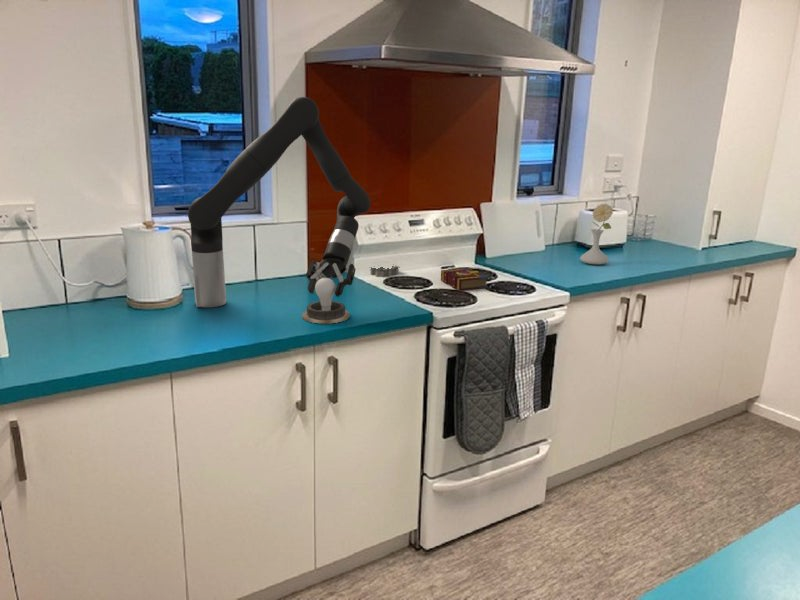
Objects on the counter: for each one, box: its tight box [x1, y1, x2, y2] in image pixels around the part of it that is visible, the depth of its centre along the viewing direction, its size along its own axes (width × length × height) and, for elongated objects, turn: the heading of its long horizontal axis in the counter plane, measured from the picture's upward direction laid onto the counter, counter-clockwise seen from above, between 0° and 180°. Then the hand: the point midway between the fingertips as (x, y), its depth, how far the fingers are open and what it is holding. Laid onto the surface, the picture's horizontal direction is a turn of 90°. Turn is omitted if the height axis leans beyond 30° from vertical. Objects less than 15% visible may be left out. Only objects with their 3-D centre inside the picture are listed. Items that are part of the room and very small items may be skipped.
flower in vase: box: [579, 203, 614, 265], centre depth 259 cm, size 13×11×25 cm
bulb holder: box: [302, 300, 351, 325], centre depth 190 cm, size 14×14×3 cm
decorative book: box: [440, 267, 489, 291], centre depth 228 cm, size 11×16×5 cm
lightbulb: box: [314, 277, 337, 311], centre depth 189 cm, size 6×6×11 cm
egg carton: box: [369, 265, 401, 278], centre depth 241 cm, size 11×8×4 cm
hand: (323, 293), depth 187 cm, fingers open, 8 cm apart
